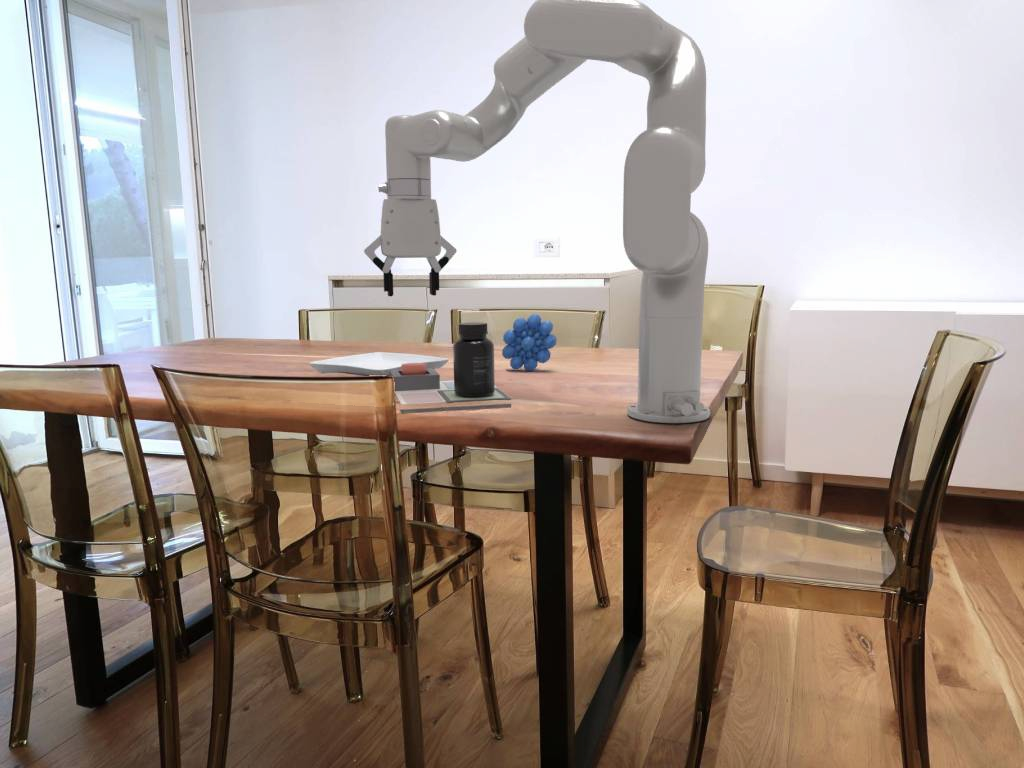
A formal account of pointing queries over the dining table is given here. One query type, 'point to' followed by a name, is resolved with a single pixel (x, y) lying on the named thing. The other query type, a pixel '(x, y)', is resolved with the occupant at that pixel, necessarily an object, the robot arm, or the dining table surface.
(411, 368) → the button
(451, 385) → the printed board
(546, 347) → the grapes
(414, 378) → the button housing
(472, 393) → the supplement bottle
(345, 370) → the salad plate
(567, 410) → the dining table surface
